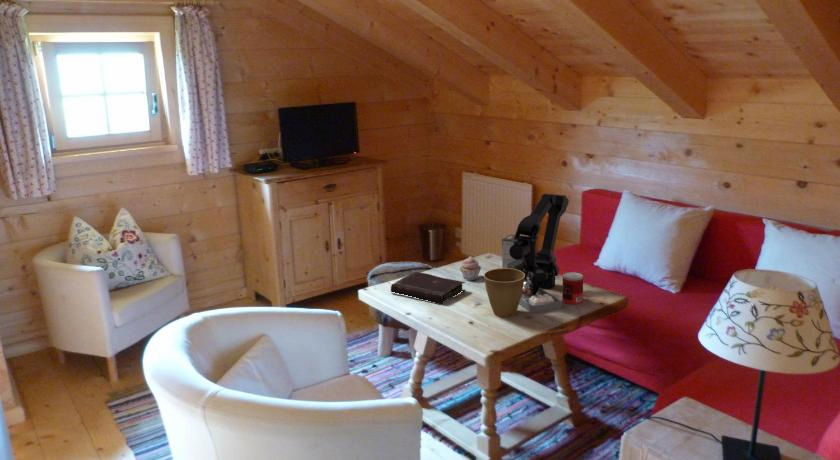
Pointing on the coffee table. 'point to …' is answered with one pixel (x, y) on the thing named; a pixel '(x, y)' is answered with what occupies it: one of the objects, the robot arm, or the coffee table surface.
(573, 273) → the canned food
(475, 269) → the cupcake
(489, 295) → the plant pot
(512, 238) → the coffee box
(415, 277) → the diary
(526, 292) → the steel tin
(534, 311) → the tote
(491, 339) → the coffee table surface
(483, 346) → the coffee table surface
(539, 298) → the egg carton
